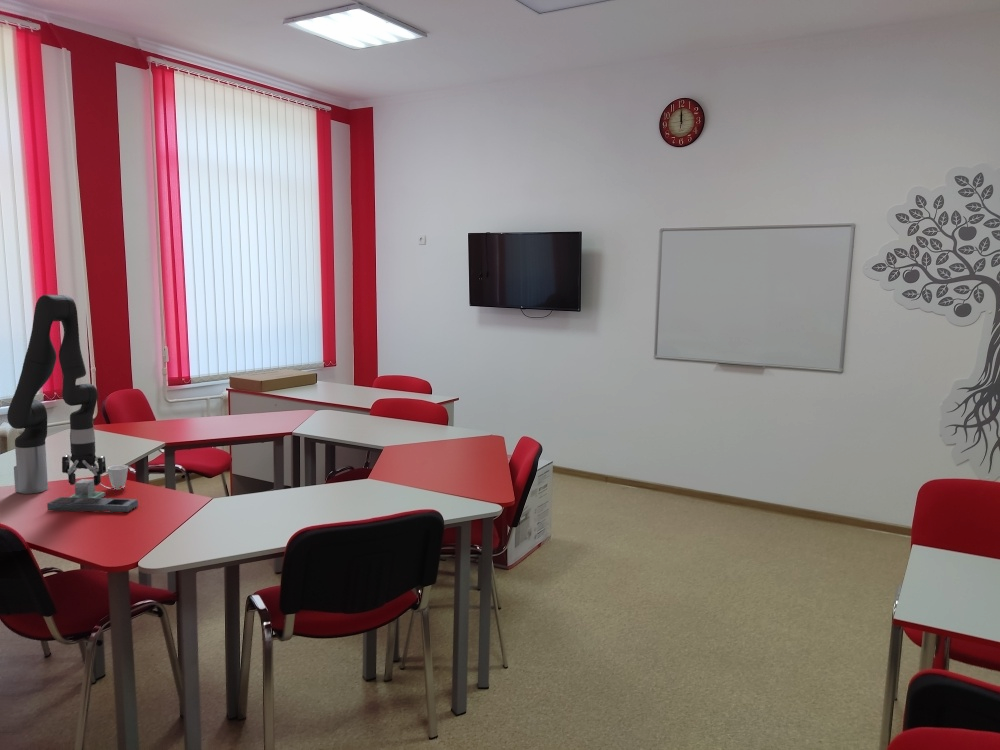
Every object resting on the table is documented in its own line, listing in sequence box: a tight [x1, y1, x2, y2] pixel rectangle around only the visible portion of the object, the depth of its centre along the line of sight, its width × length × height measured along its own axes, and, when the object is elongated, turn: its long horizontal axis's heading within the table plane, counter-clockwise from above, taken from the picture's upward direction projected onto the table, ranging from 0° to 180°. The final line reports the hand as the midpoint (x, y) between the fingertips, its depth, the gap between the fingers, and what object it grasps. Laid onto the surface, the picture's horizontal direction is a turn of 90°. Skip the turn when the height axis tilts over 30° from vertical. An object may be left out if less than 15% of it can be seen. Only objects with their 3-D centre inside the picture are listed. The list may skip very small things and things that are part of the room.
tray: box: [69, 491, 106, 498], centre depth 248 cm, size 9×9×2 cm
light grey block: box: [74, 478, 96, 498], centre depth 248 cm, size 4×4×6 cm
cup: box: [99, 464, 129, 490], centre depth 261 cm, size 7×10×8 cm
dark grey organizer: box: [46, 496, 139, 513], centre depth 240 cm, size 27×7×3 cm, turn 91°
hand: (84, 484), depth 247 cm, fingers open, 8 cm apart
